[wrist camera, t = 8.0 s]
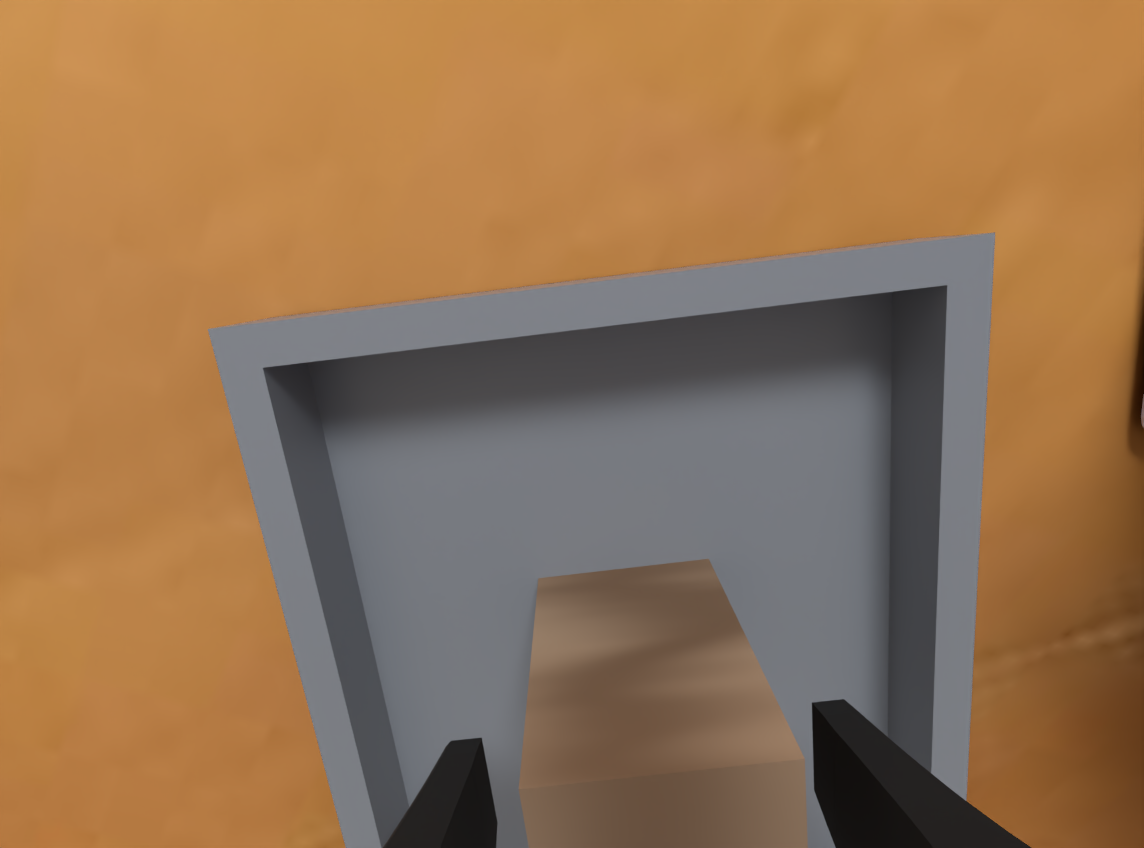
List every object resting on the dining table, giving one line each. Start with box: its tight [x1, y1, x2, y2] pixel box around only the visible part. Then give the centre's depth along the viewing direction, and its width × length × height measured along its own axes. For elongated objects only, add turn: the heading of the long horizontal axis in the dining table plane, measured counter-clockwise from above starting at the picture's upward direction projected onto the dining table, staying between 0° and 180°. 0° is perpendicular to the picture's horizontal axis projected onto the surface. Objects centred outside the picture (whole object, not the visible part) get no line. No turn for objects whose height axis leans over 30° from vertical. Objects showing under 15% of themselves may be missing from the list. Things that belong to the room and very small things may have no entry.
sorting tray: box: [208, 233, 995, 848], centre depth 14 cm, size 14×18×2 cm
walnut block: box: [519, 559, 808, 848], centre depth 12 cm, size 4×4×6 cm
